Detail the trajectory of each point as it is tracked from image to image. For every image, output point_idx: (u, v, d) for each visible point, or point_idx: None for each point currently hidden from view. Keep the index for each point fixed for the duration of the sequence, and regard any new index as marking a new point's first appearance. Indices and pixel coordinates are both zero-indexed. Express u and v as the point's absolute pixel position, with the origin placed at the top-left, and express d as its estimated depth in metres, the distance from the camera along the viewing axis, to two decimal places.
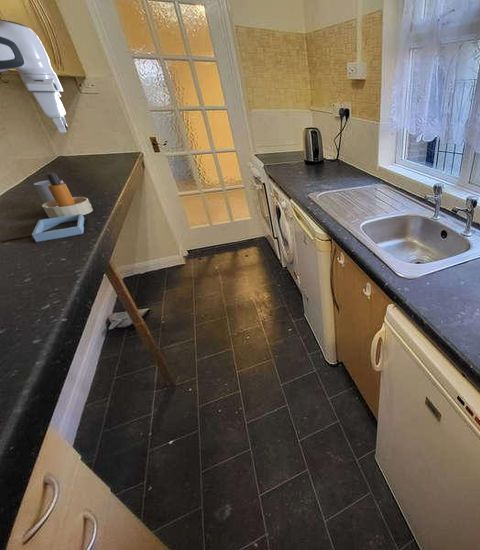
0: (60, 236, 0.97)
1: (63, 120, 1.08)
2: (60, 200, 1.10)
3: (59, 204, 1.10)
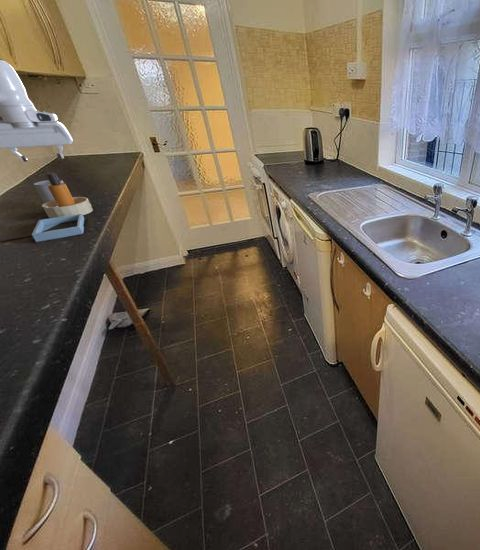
0: (60, 236, 0.97)
1: (17, 152, 1.01)
2: (60, 200, 1.10)
3: (59, 204, 1.10)
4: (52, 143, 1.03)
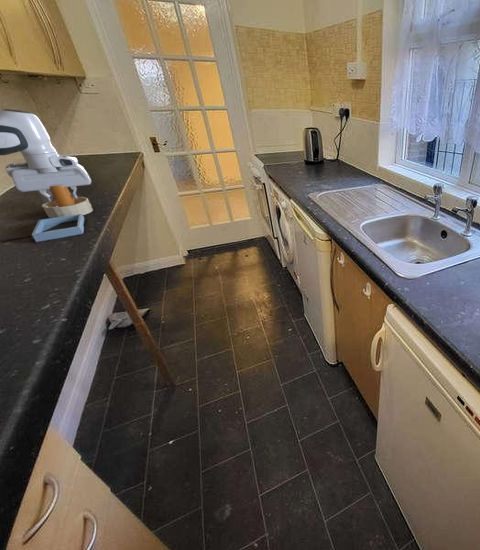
0: (60, 236, 0.97)
1: (45, 193, 1.09)
2: (60, 200, 1.10)
3: (59, 204, 1.10)
4: (72, 184, 1.10)
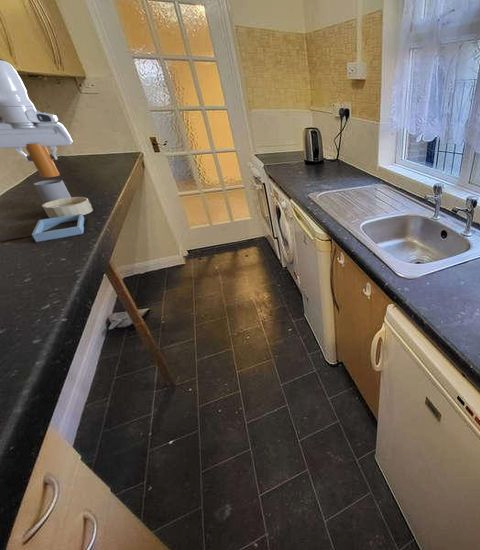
0: (60, 236, 0.97)
1: None
2: (38, 160, 1.02)
3: (37, 164, 1.03)
4: (52, 144, 1.03)
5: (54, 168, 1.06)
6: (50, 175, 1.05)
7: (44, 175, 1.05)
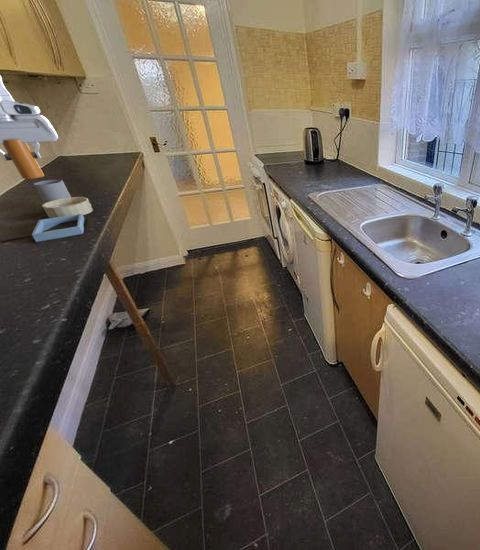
0: (60, 236, 0.97)
1: None
2: (18, 158, 0.88)
3: (17, 164, 0.89)
4: (33, 140, 0.89)
5: (37, 168, 0.92)
6: (33, 176, 0.92)
7: (26, 176, 0.91)
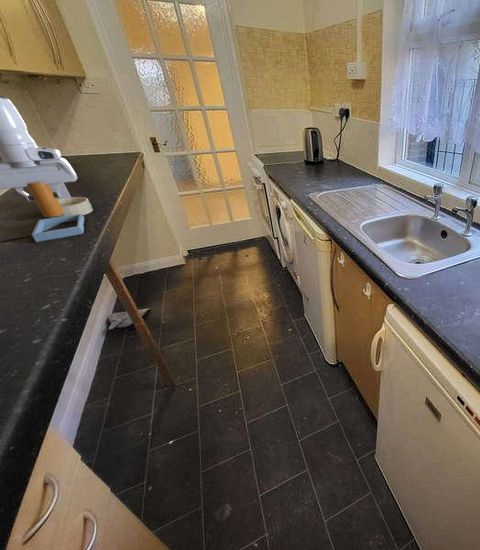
0: (60, 236, 0.97)
1: (23, 191, 0.93)
2: (40, 199, 0.94)
3: (39, 204, 0.95)
4: (55, 181, 0.95)
5: (58, 206, 0.98)
6: (54, 214, 0.98)
7: (47, 215, 0.97)
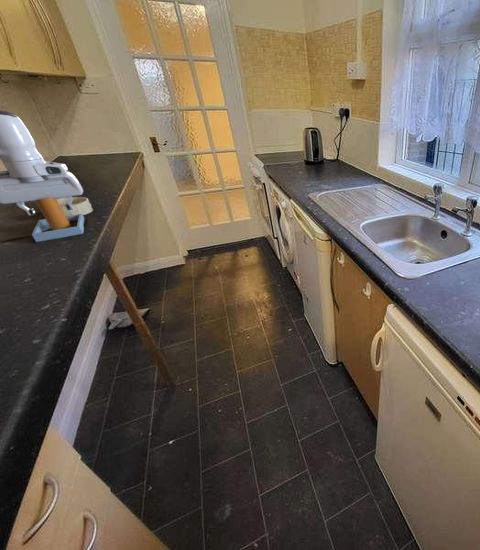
0: (60, 236, 0.97)
1: (24, 205, 0.95)
2: (49, 214, 0.97)
3: (48, 219, 0.98)
4: (61, 195, 0.97)
5: (65, 221, 1.01)
6: None
7: (55, 229, 0.99)
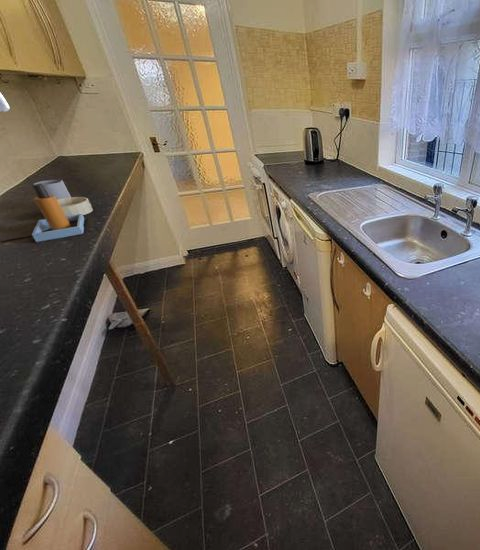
0: (60, 236, 0.97)
1: None
2: (49, 214, 0.97)
3: (48, 219, 0.98)
4: None
5: (65, 221, 1.01)
6: None
7: (55, 229, 0.99)
